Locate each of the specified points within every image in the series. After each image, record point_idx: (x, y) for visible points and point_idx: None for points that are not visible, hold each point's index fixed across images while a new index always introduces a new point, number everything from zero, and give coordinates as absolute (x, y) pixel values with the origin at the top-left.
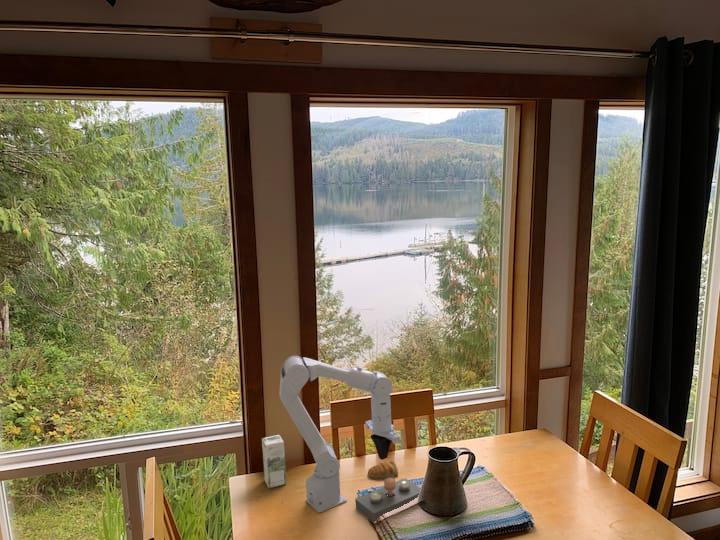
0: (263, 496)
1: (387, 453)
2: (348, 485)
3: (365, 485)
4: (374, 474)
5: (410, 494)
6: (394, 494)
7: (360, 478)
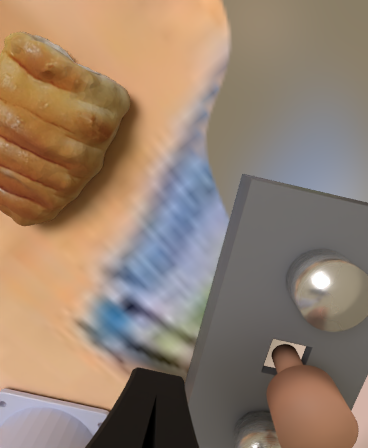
0: None
1: (187, 420)
2: (17, 323)
3: (73, 278)
4: (49, 214)
5: None
6: (301, 343)
7: (6, 246)
